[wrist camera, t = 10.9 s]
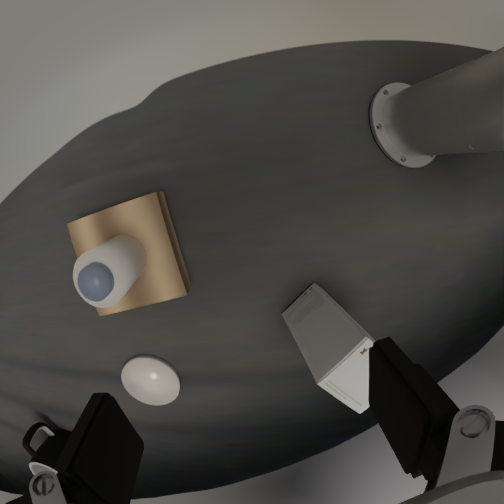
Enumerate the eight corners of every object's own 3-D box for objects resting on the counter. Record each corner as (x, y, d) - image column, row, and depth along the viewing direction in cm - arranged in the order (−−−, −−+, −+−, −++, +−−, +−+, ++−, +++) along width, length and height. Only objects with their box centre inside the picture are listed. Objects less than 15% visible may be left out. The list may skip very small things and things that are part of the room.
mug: (105, 474, 44) (93, 512, 33) (44, 444, 42) (26, 478, 30) (110, 439, 42) (94, 485, 30) (39, 404, 39) (14, 442, 27)
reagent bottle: (139, 229, 30) (109, 245, 21) (152, 275, 32) (130, 307, 23) (98, 241, 30) (59, 260, 21) (112, 285, 31) (80, 317, 22)
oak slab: (163, 191, 34) (156, 191, 30) (191, 283, 36) (187, 295, 32) (81, 219, 33) (67, 223, 29) (110, 304, 36) (99, 316, 32)
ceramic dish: (167, 349, 38) (165, 354, 37) (189, 396, 40) (188, 401, 39) (113, 359, 38) (111, 363, 37) (138, 403, 40) (136, 407, 39)
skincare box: (280, 312, 38) (311, 384, 23) (316, 278, 38) (368, 333, 23) (318, 346, 40) (358, 417, 25) (351, 315, 40) (407, 375, 24)
